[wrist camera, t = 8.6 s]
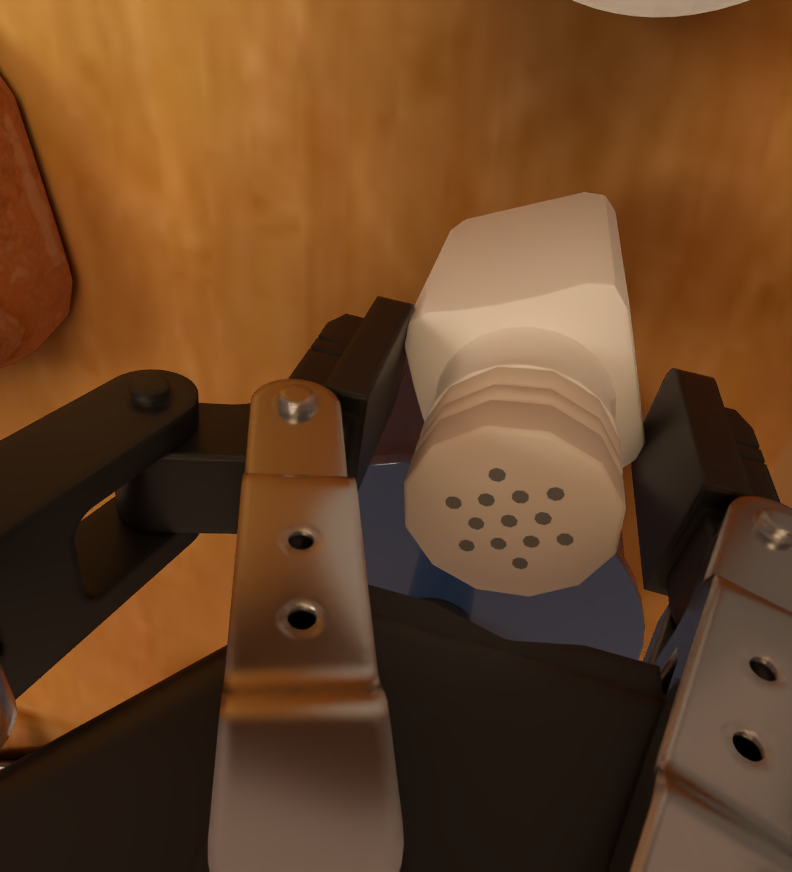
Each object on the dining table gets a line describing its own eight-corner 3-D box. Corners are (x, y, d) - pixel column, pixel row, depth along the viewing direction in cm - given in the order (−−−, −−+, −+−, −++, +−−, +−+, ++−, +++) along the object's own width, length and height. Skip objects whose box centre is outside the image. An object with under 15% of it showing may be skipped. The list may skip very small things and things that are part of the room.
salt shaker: (445, 217, 17) (338, 422, 9) (611, 178, 16) (642, 381, 8) (480, 356, 19) (414, 619, 11) (629, 333, 18) (668, 613, 10)
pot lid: (638, 429, 19) (657, 574, 14) (644, 726, 26) (658, 885, 22) (208, 450, 23) (118, 569, 18) (316, 702, 30) (270, 831, 26)
